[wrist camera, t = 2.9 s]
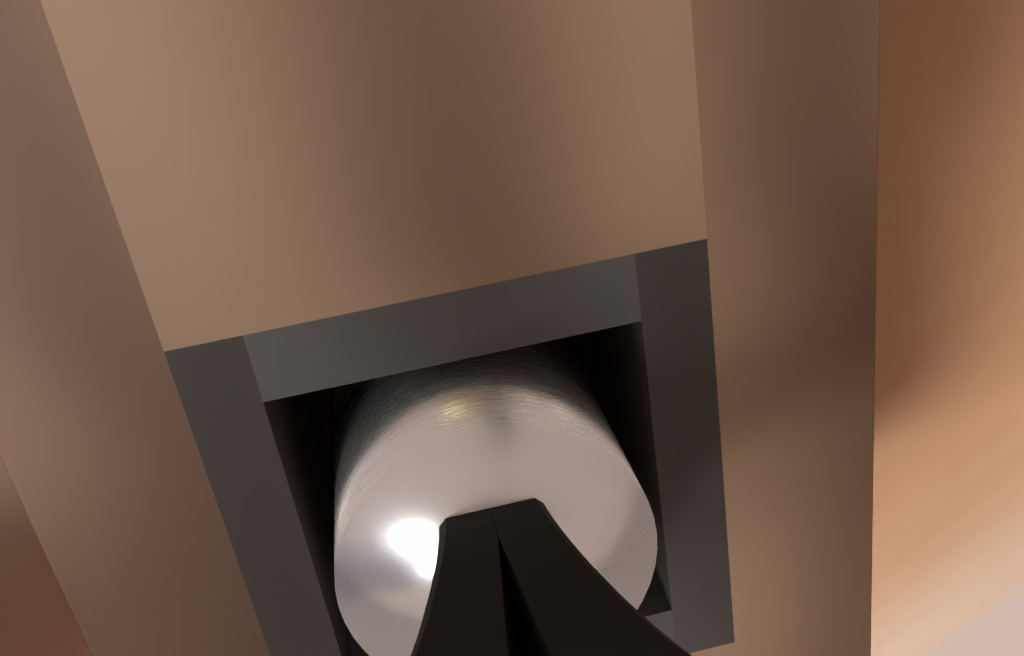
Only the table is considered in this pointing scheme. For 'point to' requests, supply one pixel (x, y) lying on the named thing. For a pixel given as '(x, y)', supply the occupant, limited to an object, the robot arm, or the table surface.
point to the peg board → (435, 287)
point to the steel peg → (474, 479)
